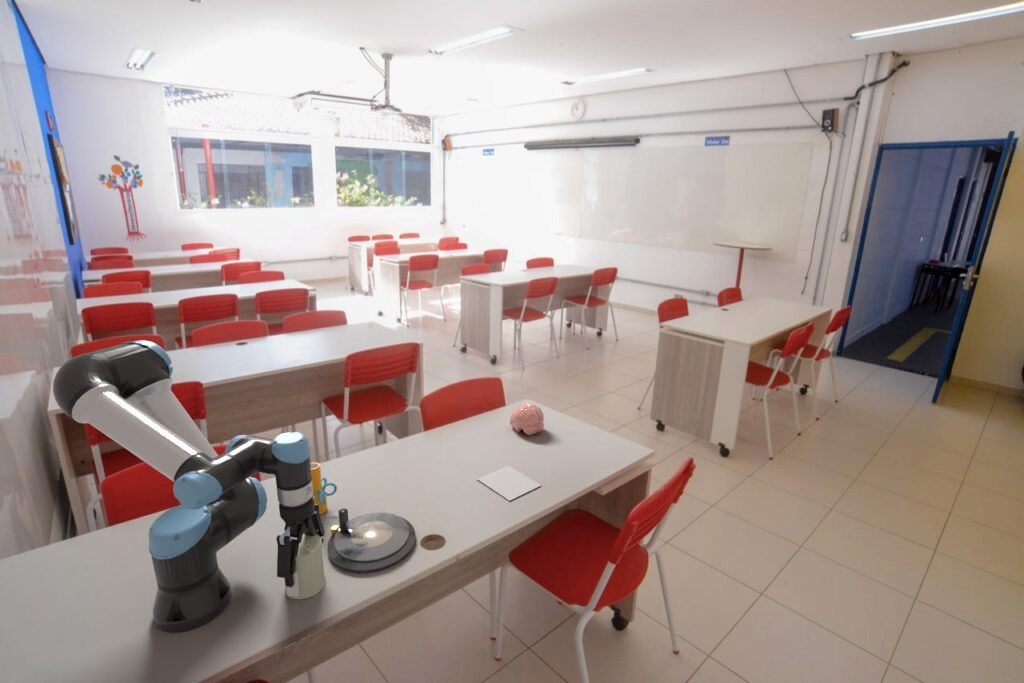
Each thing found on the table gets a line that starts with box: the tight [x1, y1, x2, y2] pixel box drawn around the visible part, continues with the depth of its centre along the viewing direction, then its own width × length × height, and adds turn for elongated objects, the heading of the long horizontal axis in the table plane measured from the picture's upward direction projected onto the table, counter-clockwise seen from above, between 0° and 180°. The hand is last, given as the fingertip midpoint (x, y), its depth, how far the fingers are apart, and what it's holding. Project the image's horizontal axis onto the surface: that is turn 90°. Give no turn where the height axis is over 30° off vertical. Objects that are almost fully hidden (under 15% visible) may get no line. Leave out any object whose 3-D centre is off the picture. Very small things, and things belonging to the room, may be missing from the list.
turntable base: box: [327, 516, 416, 574], centre depth 139 cm, size 23×23×4 cm
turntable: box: [334, 508, 409, 563], centre depth 138 cm, size 20×20×7 cm
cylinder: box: [310, 462, 338, 516], centre depth 152 cm, size 12×10×15 cm
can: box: [284, 533, 327, 600], centre depth 123 cm, size 9×9×12 cm
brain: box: [509, 403, 545, 436], centre depth 209 cm, size 16×13×12 cm
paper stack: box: [477, 465, 542, 501], centre depth 171 cm, size 23×25×1 cm
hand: (305, 580), depth 124 cm, fingers closed on can, 9 cm apart
